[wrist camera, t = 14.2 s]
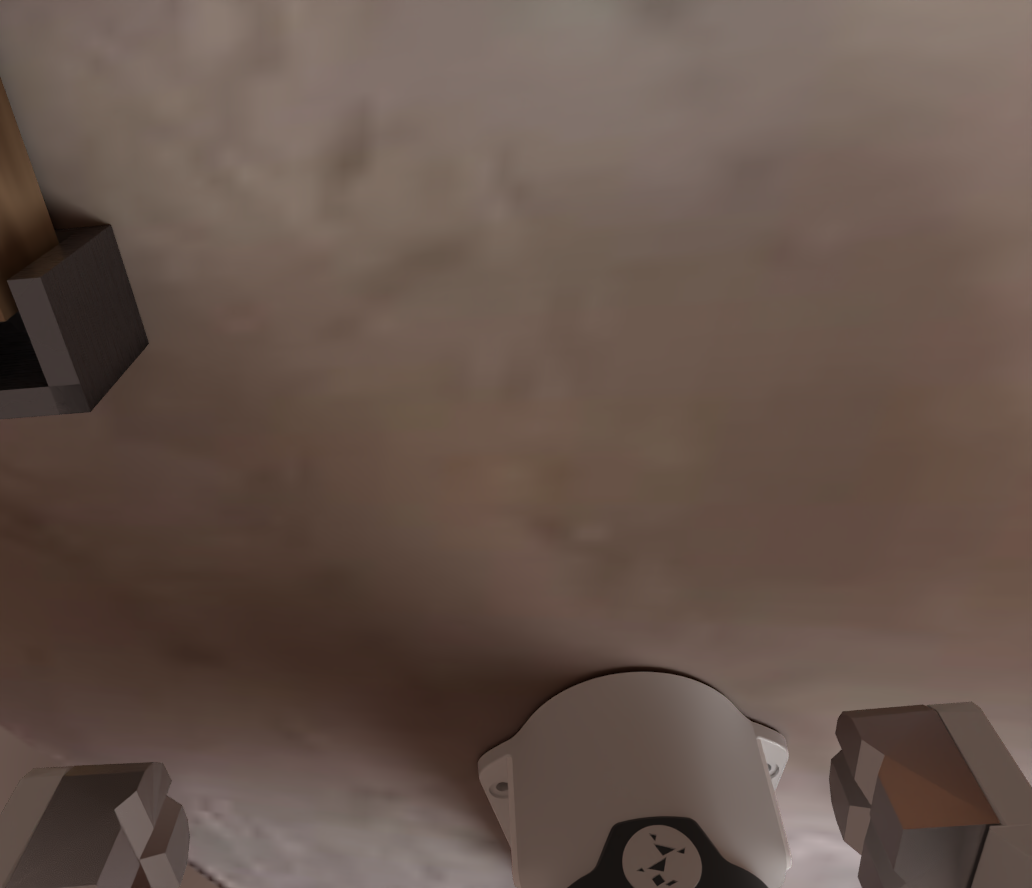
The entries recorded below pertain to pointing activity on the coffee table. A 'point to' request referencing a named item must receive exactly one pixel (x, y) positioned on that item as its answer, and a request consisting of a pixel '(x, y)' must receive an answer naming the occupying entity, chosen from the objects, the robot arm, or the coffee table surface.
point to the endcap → (69, 327)
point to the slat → (18, 209)
